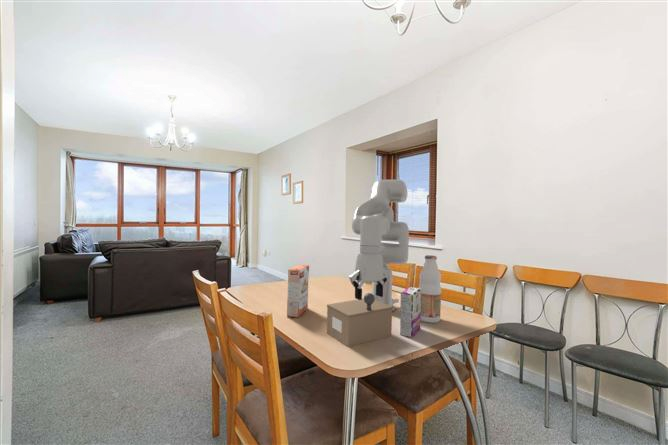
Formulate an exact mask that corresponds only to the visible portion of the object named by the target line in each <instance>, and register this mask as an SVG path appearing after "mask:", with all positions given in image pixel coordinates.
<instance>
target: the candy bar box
mask: <svg viewBox="0 0 668 445" xmlns="http://www.w3.org/2000/svg"><path fill="white" fill-rule="evenodd" d="M421 322H422V321H421V289H420V288H419V287H413V286H410V287H407V288H406V289H404V290H403V291H401V292H400V323H399V325H400V327H399V328H400V331H399V332H400V336H403V337H408V338H413V337H414V336H415V335H416V334H417V333H418V332H419V331H420V330H421Z"/></svg>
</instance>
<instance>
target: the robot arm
mask: <svg viewBox="0 0 668 445" xmlns="http://www.w3.org/2000/svg"><path fill="white" fill-rule="evenodd" d="M407 198H408V187H407V185H406V183H405V181H404V180H402V179H379V180H376V181H375V182H374V183H373V185H372V187H371V190H370V196H369V199H367V200H366V201H364V202H363V203H361V204H360V205H358V207H356V209H355V211H354V215H353V218H352V221H351V222H352V223H351V229H352V232H353V233H354V234H355V235H359V237H360V239H359V240H360V242H359V243H360V244H359V253H357V256H356V261H355V268H354V272H352V274H350V275H349V276H348V278H349V281H350V283H351V285H352V287H353V288H354V299H355V300H362V299H363V288H362V286H363V285H364V284H365V283H366V284H367V283H368V284H369V283H371V284H372V285H371V286H372V287H371V294H373V295H374V297H375V300H376V301H379V302H382V303H384V304H387V305H389V306H392V307H393V309H392V312H394V311H395V310H396V309H395V307H396V306H395V305H394V304H398V303H399V302H400V300H399V299H398V298H394V299H393V297H392V296H393V271H392V269H391V268H390V266H389V265H391V264H392V265H405V264H406V263H407V262H408V260H409V243H410V242H409V240H410V232H409V231H410V230H409V229H410V228H409V226H408V224H407V223H406V222H404V221H394V216H395V213H394V210H393V208H392V207H391V206H390V203H405V202H406V201H407ZM383 241H385V242H397V244H396V243H384V242H383ZM382 242H383V243H382Z"/></svg>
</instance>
